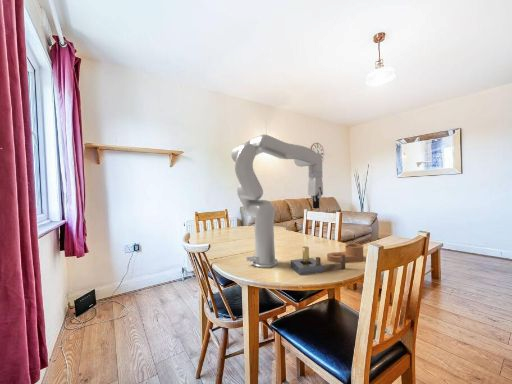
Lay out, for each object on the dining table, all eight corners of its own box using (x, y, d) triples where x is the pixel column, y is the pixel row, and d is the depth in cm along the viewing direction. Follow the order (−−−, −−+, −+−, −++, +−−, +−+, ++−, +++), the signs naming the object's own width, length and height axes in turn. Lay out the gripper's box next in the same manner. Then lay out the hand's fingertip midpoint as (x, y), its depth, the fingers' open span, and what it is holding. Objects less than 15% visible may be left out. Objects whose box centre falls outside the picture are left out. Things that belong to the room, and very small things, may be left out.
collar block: (299, 274, 100) (299, 268, 100) (290, 266, 110) (290, 260, 110) (323, 272, 102) (323, 265, 102) (312, 263, 113) (312, 257, 112)
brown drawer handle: (317, 272, 102) (316, 258, 102) (315, 270, 104) (314, 257, 104) (346, 268, 104) (346, 255, 104) (343, 267, 106) (343, 254, 106)
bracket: (357, 255, 122) (357, 242, 122) (366, 261, 114) (366, 247, 114) (324, 258, 121) (324, 245, 121) (331, 263, 113) (330, 249, 112)
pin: (304, 270, 105) (303, 248, 104) (302, 268, 107) (301, 246, 107) (310, 269, 105) (309, 247, 105) (308, 267, 108) (307, 246, 108)
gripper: (303, 176, 137) (304, 207, 137) (315, 174, 122) (315, 209, 123) (315, 176, 138) (316, 207, 139) (328, 174, 124) (328, 209, 124)
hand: (316, 208), depth 131 cm, fingers closed
